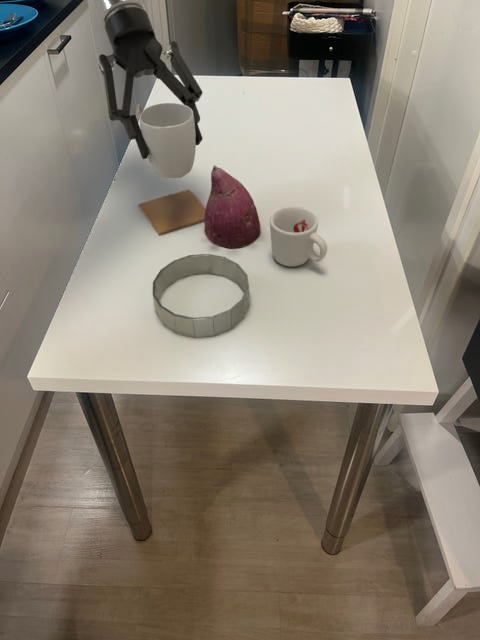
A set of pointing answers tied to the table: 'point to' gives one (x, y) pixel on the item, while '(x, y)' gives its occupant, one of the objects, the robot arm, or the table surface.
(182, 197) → the mat
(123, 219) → the table surface
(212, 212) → the vegetable
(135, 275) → the table surface
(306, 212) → the cup
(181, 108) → the mug
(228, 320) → the ring
